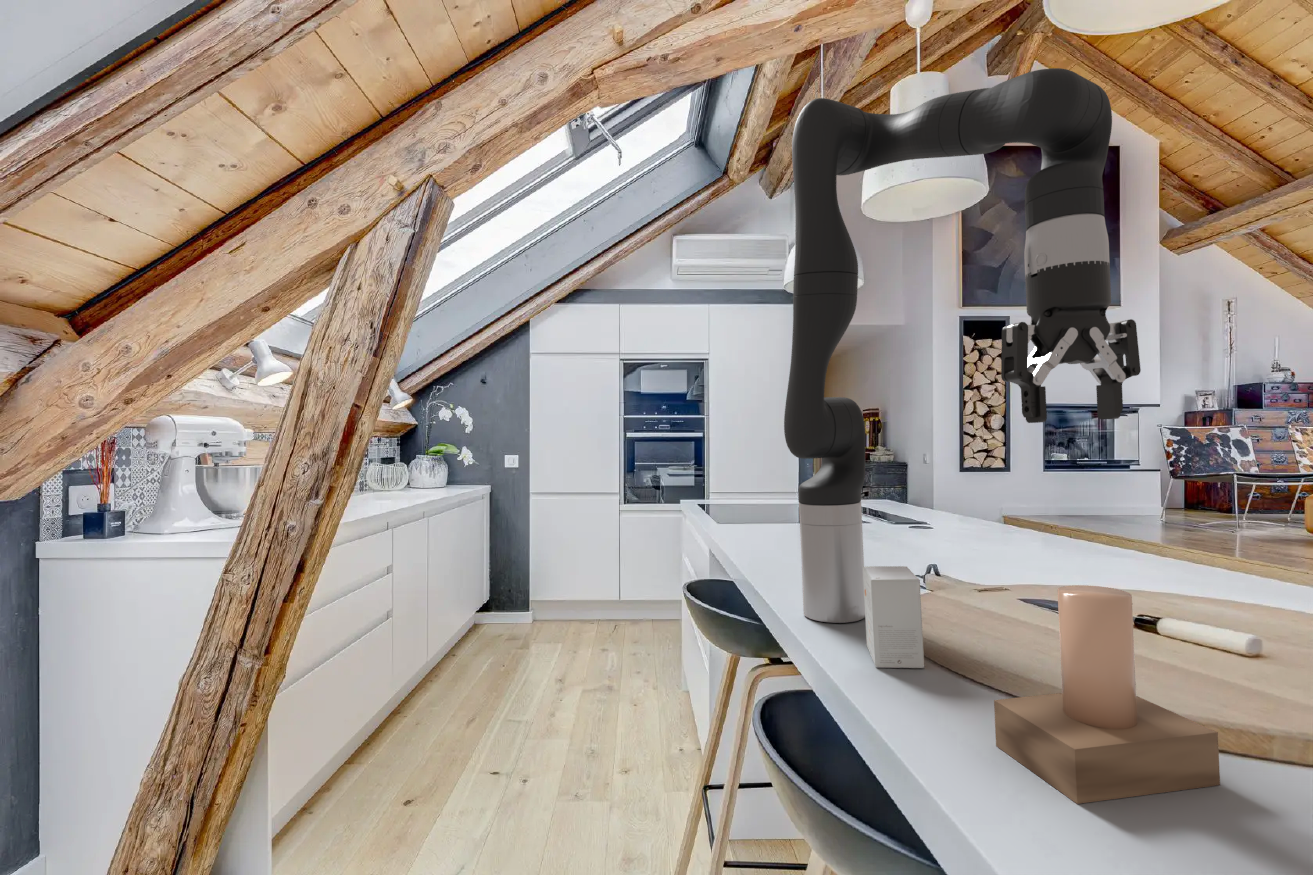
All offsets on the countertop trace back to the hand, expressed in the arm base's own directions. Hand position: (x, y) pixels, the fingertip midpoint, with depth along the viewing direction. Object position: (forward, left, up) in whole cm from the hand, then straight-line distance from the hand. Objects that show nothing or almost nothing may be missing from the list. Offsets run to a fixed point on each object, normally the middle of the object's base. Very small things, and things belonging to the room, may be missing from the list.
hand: (1072, 420), depth 67 cm
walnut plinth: (+14, -11, -28) cm, 33 cm away
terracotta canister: (+14, -11, -24) cm, 30 cm away
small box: (-13, -14, -28) cm, 34 cm away
